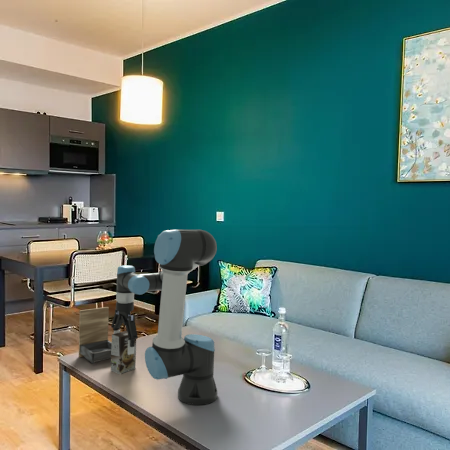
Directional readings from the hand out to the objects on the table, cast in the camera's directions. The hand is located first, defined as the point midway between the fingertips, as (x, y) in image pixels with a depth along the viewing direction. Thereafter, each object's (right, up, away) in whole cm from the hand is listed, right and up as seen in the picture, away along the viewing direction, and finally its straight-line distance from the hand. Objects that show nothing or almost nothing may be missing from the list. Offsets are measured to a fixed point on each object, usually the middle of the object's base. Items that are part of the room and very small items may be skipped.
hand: (123, 349), depth 192 cm
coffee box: (0, -9, 0) cm, 9 cm away
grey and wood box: (-14, -8, +12) cm, 20 cm away
